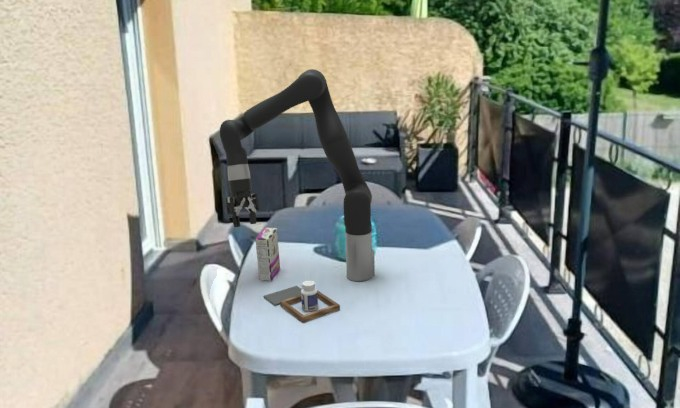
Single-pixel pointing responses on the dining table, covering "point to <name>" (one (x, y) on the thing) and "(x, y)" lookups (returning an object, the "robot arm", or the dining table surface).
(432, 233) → the dining table surface
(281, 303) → the walnut frame
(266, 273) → the candy bar box
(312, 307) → the pill bottle
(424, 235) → the dining table surface
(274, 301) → the charcoal mat
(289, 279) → the dining table surface
